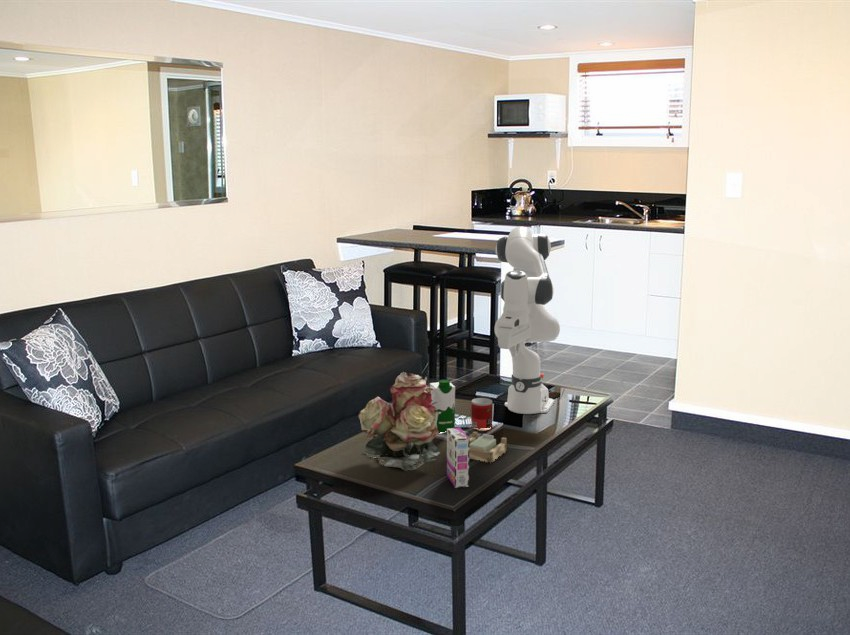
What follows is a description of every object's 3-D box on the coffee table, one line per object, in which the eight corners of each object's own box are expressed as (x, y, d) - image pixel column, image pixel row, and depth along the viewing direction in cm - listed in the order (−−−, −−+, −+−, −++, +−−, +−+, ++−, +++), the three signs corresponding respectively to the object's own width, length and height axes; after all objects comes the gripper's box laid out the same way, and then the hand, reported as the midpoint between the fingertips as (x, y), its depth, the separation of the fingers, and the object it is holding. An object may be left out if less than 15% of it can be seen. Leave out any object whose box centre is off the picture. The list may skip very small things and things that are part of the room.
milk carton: (435, 435, 304) (435, 384, 299) (428, 427, 312) (427, 377, 308) (457, 432, 306) (457, 381, 302) (449, 424, 315) (449, 375, 310)
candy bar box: (470, 487, 258) (470, 438, 255) (455, 488, 257) (454, 440, 254) (460, 473, 269) (460, 426, 266) (446, 475, 268) (445, 427, 264)
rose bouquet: (350, 456, 285) (347, 373, 278) (415, 436, 303) (414, 358, 296) (394, 479, 265) (392, 391, 259) (461, 456, 283) (461, 374, 277)
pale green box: (479, 448, 291) (479, 432, 290) (497, 451, 287) (497, 436, 286) (467, 456, 284) (467, 440, 282) (485, 460, 280) (485, 444, 279)
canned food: (491, 432, 306) (491, 404, 304) (469, 431, 308) (469, 403, 305) (493, 425, 313) (493, 398, 311) (472, 424, 315) (472, 397, 312)
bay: (474, 444, 294) (474, 431, 293) (506, 451, 287) (506, 438, 286) (457, 455, 284) (457, 442, 283) (491, 463, 277) (491, 449, 276)
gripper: (520, 310, 297) (519, 347, 301) (494, 322, 280) (494, 360, 284) (536, 312, 294) (535, 349, 297) (511, 324, 277) (510, 363, 280)
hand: (515, 355), depth 290 cm, fingers closed
